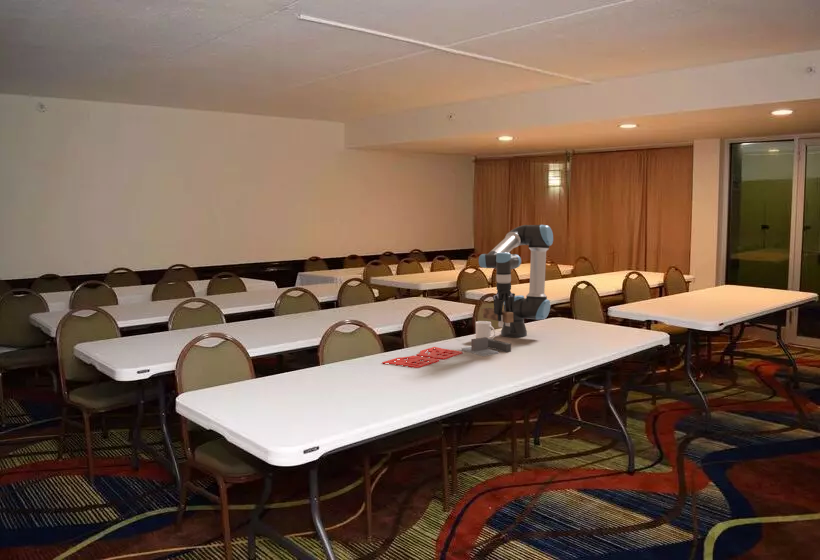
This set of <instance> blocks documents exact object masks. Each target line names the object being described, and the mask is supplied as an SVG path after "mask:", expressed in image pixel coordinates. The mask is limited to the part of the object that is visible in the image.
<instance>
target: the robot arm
mask: <svg viewBox="0 0 820 560" xmlns="http://www.w3.org/2000/svg"><path fill="white" fill-rule="evenodd" d="M553 242H554V233H553V229H552V228H551V226H549V225H548V224H547V225H546V224H522V225H520V226H517V227H514V228H513V229H511V230H510V231H509V232H507V233H506V235H505V237H504V238H503V239H502V240H501V241H499V243H498V244H496V246H495V247H493V249H491V250H490V251H489V252H488V253H482V254H480V255H479V256H478V265H479V267H480V268H483V269H496V272H495V274H496V290H497V291H496V294H495V295H494V294H493V295H492V299H493V309H494V314H497V316H498V321H497V322H498V323H497V325H498V328H501V330H500V335H501V336H503V337H506V338H521V337H522V338H523V337H527V336H528V331H527V327H526V325H525V319H531V320H545V319H547V317H548V316H549V313H550V312H551V311H550V310H551V301H550V300H549V299H548V295H546V293H545V291H546V290H545V288H546V287H545V286H546V264H547V261H546V260H547V251H549V250H550V246H552V245H553ZM519 246H528V249H529V250H530V263H529V264H530V267H529V268H530V270H529V288H528V289H529V292H528V293H527V294H526V297H525V296H524V295H521V294H519V295H516V293H514V292H512V291H511V290H512V283H511V281H512V270H514V269H517V268H519V267H520V266H521V265H522V257H521V256H519V254H517V253H514V254H513V253H512V254H511V251H512V250H514V249H515V248H518V247H519ZM502 310H503V311H508V312H513V322H511V323H505V322H503V315H502Z"/></svg>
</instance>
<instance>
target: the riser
mask: <svg viewBox="0 0 820 560" xmlns="http://www.w3.org/2000/svg"><path fill="white" fill-rule="evenodd" d="M488 349H491V350H495V351H501V352H505V353H510V352H512V343H509V342H504V341H500V340H497V339H494V338H493V339H488Z"/></svg>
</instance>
